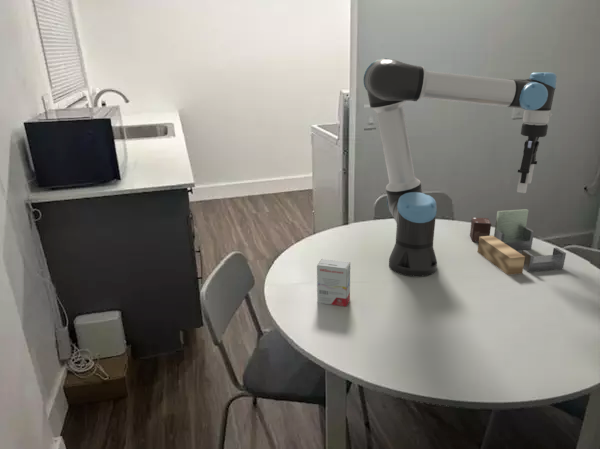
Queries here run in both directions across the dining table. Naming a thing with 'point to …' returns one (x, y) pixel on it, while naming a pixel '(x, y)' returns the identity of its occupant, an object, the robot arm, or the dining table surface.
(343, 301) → the ink box
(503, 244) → the light wood long block
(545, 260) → the rest saddle
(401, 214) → the robot arm
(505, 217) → the cup bracket
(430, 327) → the dining table surface
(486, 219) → the box
